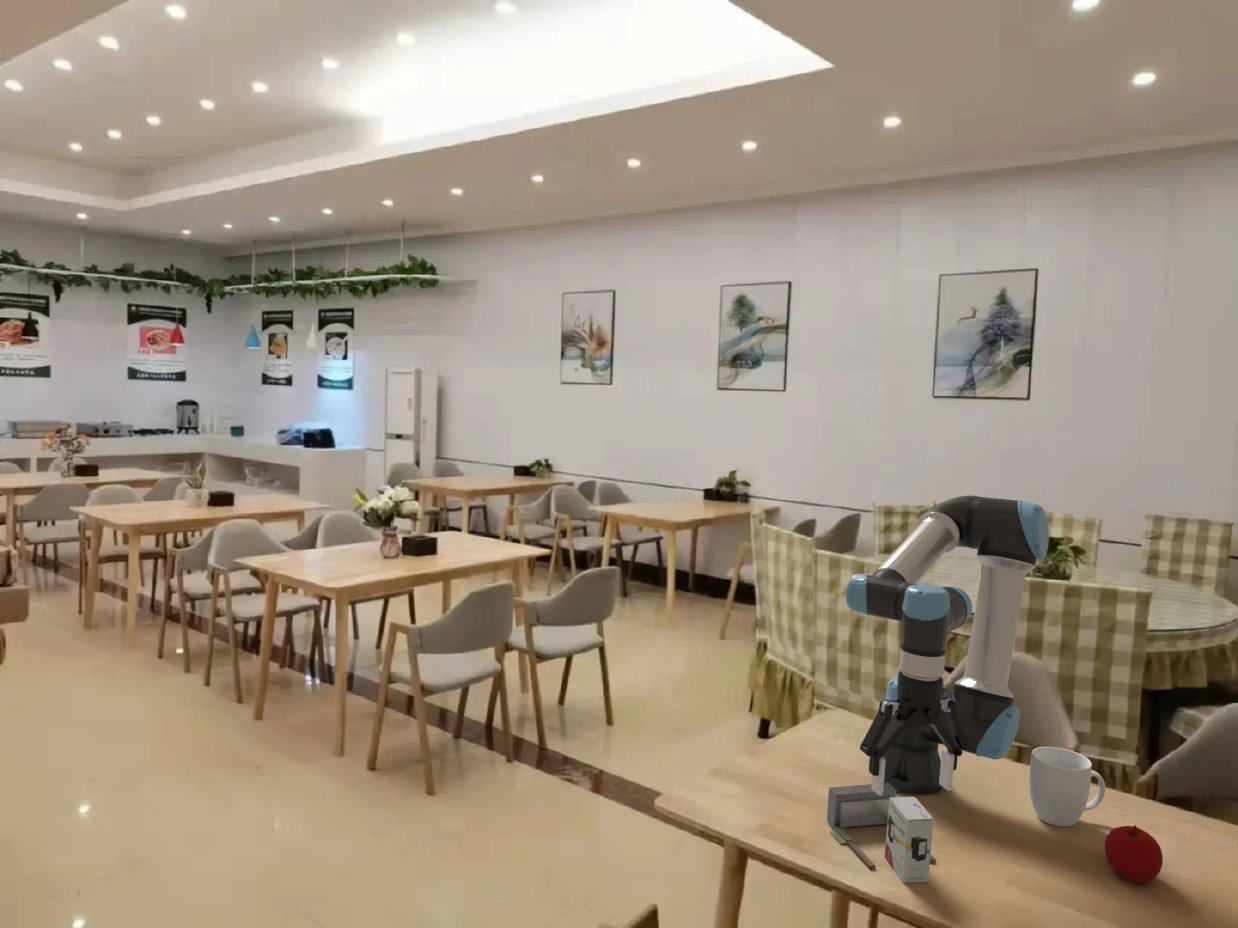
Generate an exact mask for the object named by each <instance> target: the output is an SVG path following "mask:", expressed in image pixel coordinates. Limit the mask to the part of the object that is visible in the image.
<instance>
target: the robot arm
mask: <svg viewBox="0 0 1238 928" xmlns="http://www.w3.org/2000/svg"><path fill="white" fill-rule="evenodd" d="M1049 538H1050V535H1049V521H1048V517H1047V513H1046V511H1045V510H1044V508H1043V507H1042V506H1041V505H1040V504H1038V503H1034V502H1033V503H1032V502H1028V501H1024V500H1023V501H1022V500H1017V499H1016V500H1015V499H1006V498H1005V499H1004V498H996V497H986V496H978V495H962V496H957V497H953V498H950V499H947V500H945V501H941V502H940V503H938V504H936V505H934V506H932V507H931V508H929V509H927V511H925V512H924V513H923V514H922V515H921V516H920V517H919V518H918V520H917V521H916V524H915V529H914V530H913V531H912V532H911V534H909V535H908V536H907V538H906V539H905V540H904V541H903V542H902V543H901V544H900V545H899V546H898V547H897V548H896V549H895V550H894V551H893V552H892V553H891V555H889V557H888V558H886V559H885V560H884V561H883V563H882V564H881V565H880V566H879V567H878V568H877V569H876V570H875V571H874V572H872V574H871V575H869V574H867V573H855V574H853V575H852V576H851V577H850V578H849V580H848V582H847V585H846V590H845V599H846V600H845V602H846V604H847V606H848V608H849V609H850V610H851V611H853V612H857V613H860V614H864V615H866V616H873V617H876V618H881V619H887V620H892V621H898V622H901V632H900V633H901V634H900V635H901V638H900V644H899V645H900V646H899V648H900V650H899V651H900V652H899V662H898V670H899V672H897V675H896V676H894V677H891V679H890V680H888V682H887V685H886V693H885V696H884V699H881V700H880V702H879V706H878V711H877V714H876V715H875V717H874V720H873V721H872V723H871V724H870V727H869V729H868V730H867V733H866V734H865V736H864V738H863V740H862V741H861V743H860V745H859V750H860V751H861V752H863V754H864V755H866V756H867V757H869V759H868V760H869V762H868V772H869V773H870V774H871V783H870V784H871V789H872V790H873V791H874V792H875V793H877V794H878V795H879V796H882V795H883V787H884V783H889V784H890V785H891V786H892V787H894V788H895V789H896V792H899V793H903V794H908V795H915V796H922V795H923V796H926V795H927V796H928V795H929V796H930V795H934V794H937V793H939V792H942V790H943V789H945V790H946V791H952V789H953V777H954V776H953V775H954V771H956V770H957V768H958V758H959V757H961V756H962V755H963V752H966V753H969V754H973V755H975V756H976V757H983V758H988V759H992V760H1001V759H1003V758H1004V757H1005V756H1006V755H1008V752H1009V751H1010V749H1011V748H1012V746H1013V744H1014V741H1015V738H1016V736H1017V734H1018V733H1017V732H1018V730H1019V725H1020V723H1021V722H1020V721H1021V720H1020V719H1021V718H1020V717H1021V710H1020V708H1019V707H1018V706H1017V705H1015V704H1013V703H1014V695H1013V693H1012V692H1011V690H1010V689H1009V687H1008V684H1009V677H1010V671H1011V666H1012V659H1013V655H1014V649H1015V641H1016V635H1017V628H1018V624H1019V619H1020V618H1019V617H1020V612H1021V608H1022V607H1021V605H1022V600H1023V594H1024V588H1025V582H1026V575H1027V574H1028V573H1029V572H1031V571H1033V570H1034V569H1035V568H1036V563H1037V560H1039V561H1041V560H1044V559H1045V558H1046V557H1047V555H1048V554H1047V553H1048V550H1049V543H1050V542H1049ZM955 548H967V549H974V550H977V552H976V559H977V560H978V561H979V562H980V564H981V566H982V568H981V574H980V580H979V585H978V586H979V587H978V590H977V598H976V602H975V603H976V604H975V609H974V615H973V621H972V626H971V632H970V638H969V643H968V649H967V655H966V661H965V666H964V673H963V676H962V677H960V678H959V679H957V680H956V681H955V682H954V684H953V685H954V686H953V689H949V688H945V683H944V679H943V676H944V675H945V665H946V664H945V662H946V648H947V637H948V636H947V635H948V633H950V632H952V631H953V630H956V629H959V628H961V627H962V626H963V625H964V624H965V623H966V622H967V621H969V619H970V618H971V615H972V613H973V603H972V600H971V598H970V596H969V595H968V593H966V591H964V590H963V589H961V588H960V587H957V586H949V585H947V586H942V587H941V586H937V585H932V584H919V582H920V581H921V580H922V579H923V577H925V575H926V574H927V573H928V571H930V569H931V568H932V567H933V566H934V565H935V564H936V562H937V561H938V560H939V559H940V558H941V557H942V555H944V554H947V553H949V552H951V551H954V549H955ZM939 744H940V745H943V746H945V748H941V755H940V753H939Z"/></svg>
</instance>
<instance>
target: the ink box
mask: <svg viewBox="0 0 1238 928" xmlns="http://www.w3.org/2000/svg"><path fill="white" fill-rule="evenodd" d="M933 830H934V819H933V816H932V815H931V814H930V813H929V811H927V809H926V808H925V806H923V804H922V803H921V802H920V801H919V800H918V799H917V798H916V796H896V797H890V799H889V812H888V823H887V824H886V837H885V848H884V858H885V859H886V861H887V862H888V863H889V865H890V866H891V868H892V869H893V870H894V872H895V873H896V875H897V876H898V877H899V878H898V879H900V880H901V881H900V882H902V883H928V882H929V874H930V864H931V863H930V854H931V851H932V841H933Z"/></svg>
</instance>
